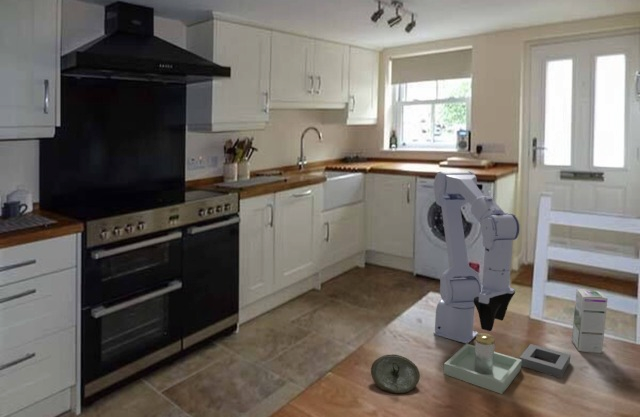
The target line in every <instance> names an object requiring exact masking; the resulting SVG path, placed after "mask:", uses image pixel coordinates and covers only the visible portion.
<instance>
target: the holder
mask: <svg viewBox="0 0 640 417" xmlns="http://www.w3.org/2000/svg"><path fill="white" fill-rule="evenodd" d="M535 357H537V358H535ZM539 358H542V359H543V360H542V359H539ZM519 359H521V360H522V362H521V367H523V368H527V369H530V370H533V371H537V372H540V373H543V374H547V375H550V376H553V377H557V378H559V379H560V378H561V379H562V377H563V375H564V374H565V371H566V370H567V368H568V366H569V365H570V364H571V363H570V362H571V354H569V353H566V352H561V351H558V350H555V349H551V348H547V347H543V346H541V345H536V344H532V343H530V344H529V345H528V347H527V348H526V349H525V350H524V351H523V353H521V355H520V356H519ZM546 360H548V361H549V362H548V361H546ZM550 361H552V362H550ZM553 362H555V363H553Z"/></svg>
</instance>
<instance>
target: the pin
mask: <svg viewBox="0 0 640 417" xmlns="http://www.w3.org/2000/svg"><path fill="white" fill-rule="evenodd" d="M495 341H496V338H495V336H494V335H492V334H490V333H485V332H484V333H483V332H480V333H479V332H478V334H477V335H476V337H475V345H474V346H475V364H474V370H475V371H476V372H478V373H480V374H486V375H487V374H491V373H492V372H493V360H494V352H495V345H496V344H495Z"/></svg>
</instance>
